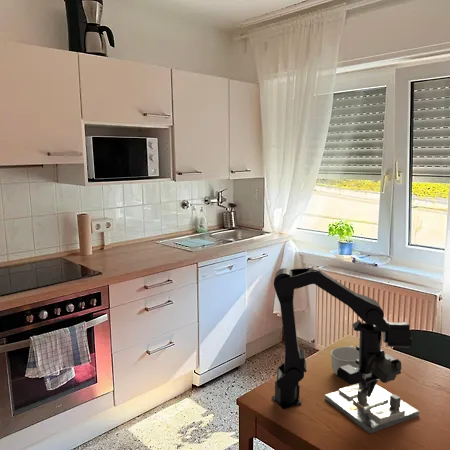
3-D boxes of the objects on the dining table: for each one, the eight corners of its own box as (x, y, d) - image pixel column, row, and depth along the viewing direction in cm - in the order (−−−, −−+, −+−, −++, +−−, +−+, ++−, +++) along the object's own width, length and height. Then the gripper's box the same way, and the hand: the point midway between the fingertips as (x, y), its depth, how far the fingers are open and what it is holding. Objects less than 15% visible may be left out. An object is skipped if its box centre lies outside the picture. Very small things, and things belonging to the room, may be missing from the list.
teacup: (357, 387, 131) (358, 363, 130) (324, 377, 138) (325, 354, 137) (371, 370, 142) (372, 347, 141) (341, 361, 149) (341, 340, 148)
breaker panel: (369, 433, 109) (369, 424, 108) (325, 399, 125) (325, 391, 124) (418, 415, 116) (419, 407, 116) (370, 385, 132) (371, 377, 132)
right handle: (395, 409, 115) (395, 399, 114) (389, 405, 117) (390, 395, 116) (400, 407, 116) (400, 397, 115) (394, 404, 117) (394, 394, 117)
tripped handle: (362, 403, 118) (362, 393, 117) (357, 400, 119) (357, 390, 119) (367, 402, 118) (367, 392, 118) (361, 398, 120) (362, 389, 120)
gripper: (365, 364, 106) (363, 421, 108) (417, 349, 114) (414, 402, 116) (336, 347, 116) (335, 399, 118) (386, 334, 124) (384, 383, 126)
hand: (368, 396), depth 120 cm, fingers closed
